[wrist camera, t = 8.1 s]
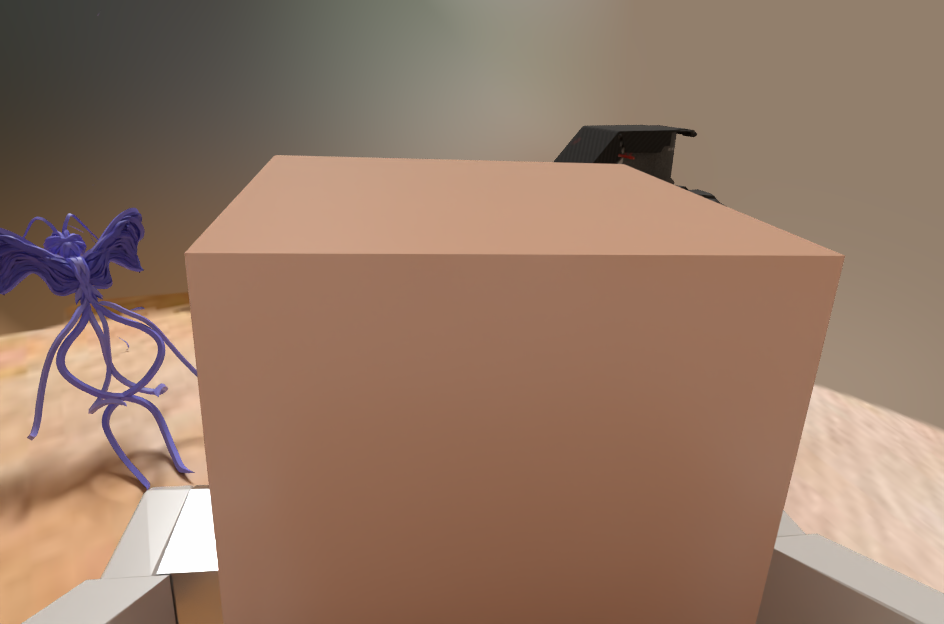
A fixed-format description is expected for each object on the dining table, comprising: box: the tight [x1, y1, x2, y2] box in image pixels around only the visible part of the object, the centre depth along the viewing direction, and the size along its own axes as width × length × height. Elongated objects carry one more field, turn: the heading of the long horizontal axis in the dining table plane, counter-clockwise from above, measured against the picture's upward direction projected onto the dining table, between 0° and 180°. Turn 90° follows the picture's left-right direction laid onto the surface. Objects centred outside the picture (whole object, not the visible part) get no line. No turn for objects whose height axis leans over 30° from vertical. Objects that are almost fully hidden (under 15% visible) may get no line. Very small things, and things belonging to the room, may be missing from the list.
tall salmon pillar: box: [185, 155, 845, 624], centre depth 8 cm, size 4×4×10 cm
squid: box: [0, 208, 198, 490], centre depth 46 cm, size 14×35×18 cm
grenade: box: [554, 125, 727, 207], centre depth 39 cm, size 9×11×20 cm
